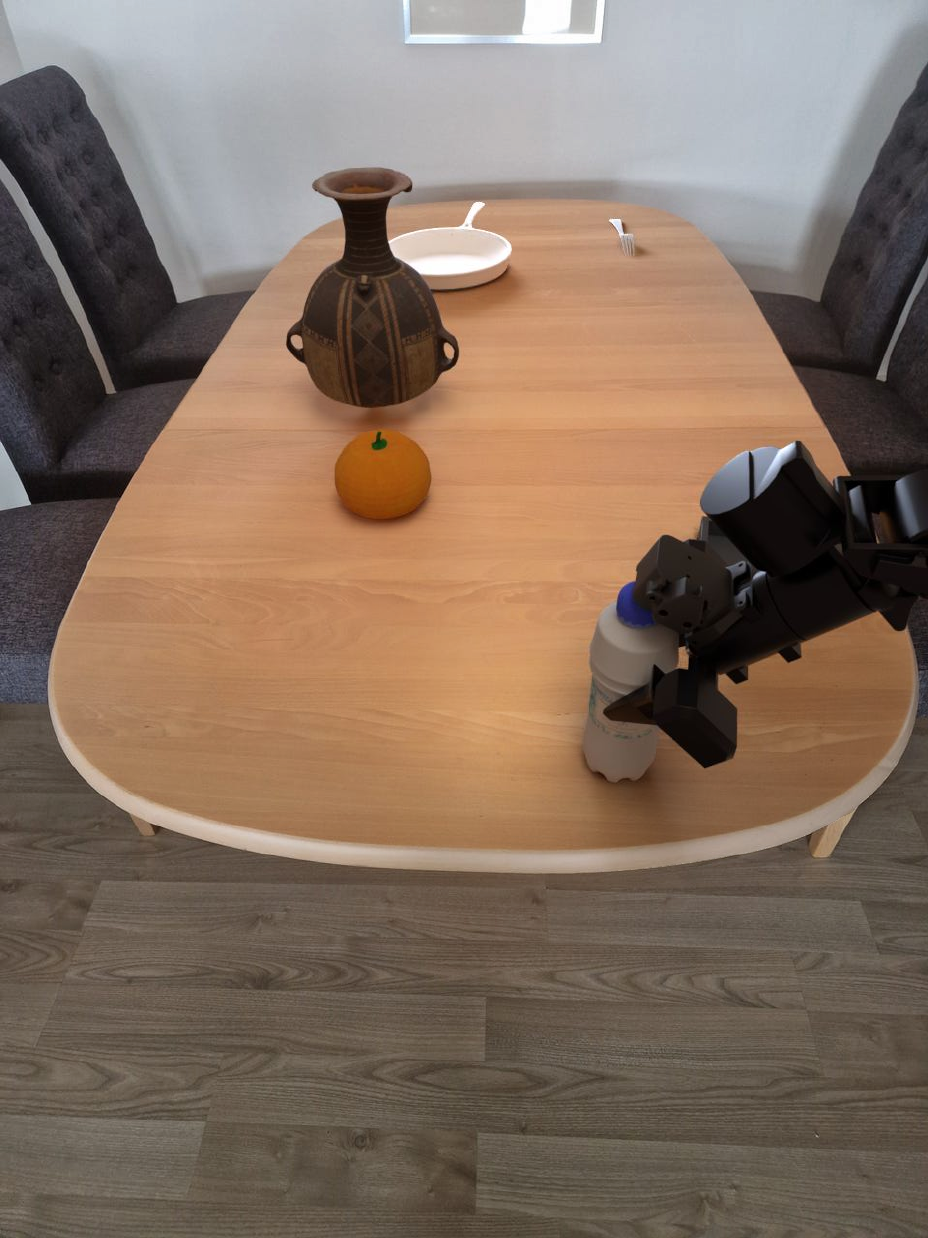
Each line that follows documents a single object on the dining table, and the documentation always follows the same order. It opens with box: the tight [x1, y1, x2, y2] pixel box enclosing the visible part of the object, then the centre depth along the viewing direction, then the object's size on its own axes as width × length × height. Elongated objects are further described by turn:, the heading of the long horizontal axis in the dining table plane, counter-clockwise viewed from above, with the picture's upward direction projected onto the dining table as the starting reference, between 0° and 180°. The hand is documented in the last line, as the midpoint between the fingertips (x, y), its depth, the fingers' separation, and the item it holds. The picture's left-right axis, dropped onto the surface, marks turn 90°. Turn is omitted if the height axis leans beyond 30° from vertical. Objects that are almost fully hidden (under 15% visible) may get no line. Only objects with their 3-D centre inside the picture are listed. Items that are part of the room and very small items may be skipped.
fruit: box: [333, 428, 432, 520], centre depth 97 cm, size 12×12×10 cm
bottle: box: [581, 580, 680, 783], centre depth 64 cm, size 7×7×20 cm
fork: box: [608, 218, 635, 257], centre depth 164 cm, size 3×21×3 cm, turn 1°
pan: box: [388, 201, 513, 292], centre depth 158 cm, size 25×38×5 cm, turn 164°
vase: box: [285, 166, 460, 409], centre depth 107 cm, size 23×19×30 cm
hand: (611, 684), depth 64 cm, fingers closed on bottle, 6 cm apart
